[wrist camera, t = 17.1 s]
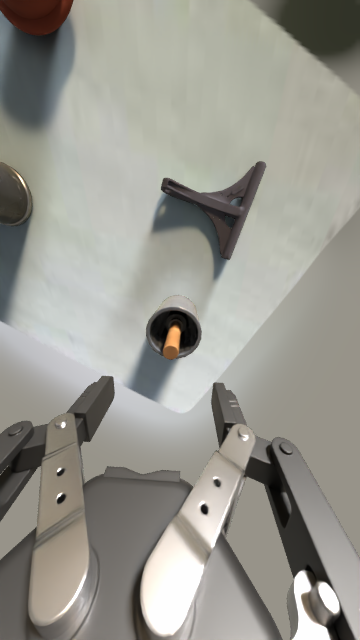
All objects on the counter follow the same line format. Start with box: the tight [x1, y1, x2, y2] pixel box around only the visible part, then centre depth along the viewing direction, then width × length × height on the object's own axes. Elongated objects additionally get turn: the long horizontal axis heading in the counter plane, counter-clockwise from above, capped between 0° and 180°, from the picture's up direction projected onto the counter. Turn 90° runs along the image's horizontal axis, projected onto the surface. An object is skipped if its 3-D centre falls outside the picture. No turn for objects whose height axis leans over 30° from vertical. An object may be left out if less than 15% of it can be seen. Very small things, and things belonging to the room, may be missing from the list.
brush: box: [163, 310, 187, 360], centre depth 26 cm, size 4×4×16 cm
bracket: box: [161, 161, 266, 260], centre depth 27 cm, size 14×15×3 cm
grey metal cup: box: [146, 295, 202, 359], centre depth 29 cm, size 8×8×11 cm
